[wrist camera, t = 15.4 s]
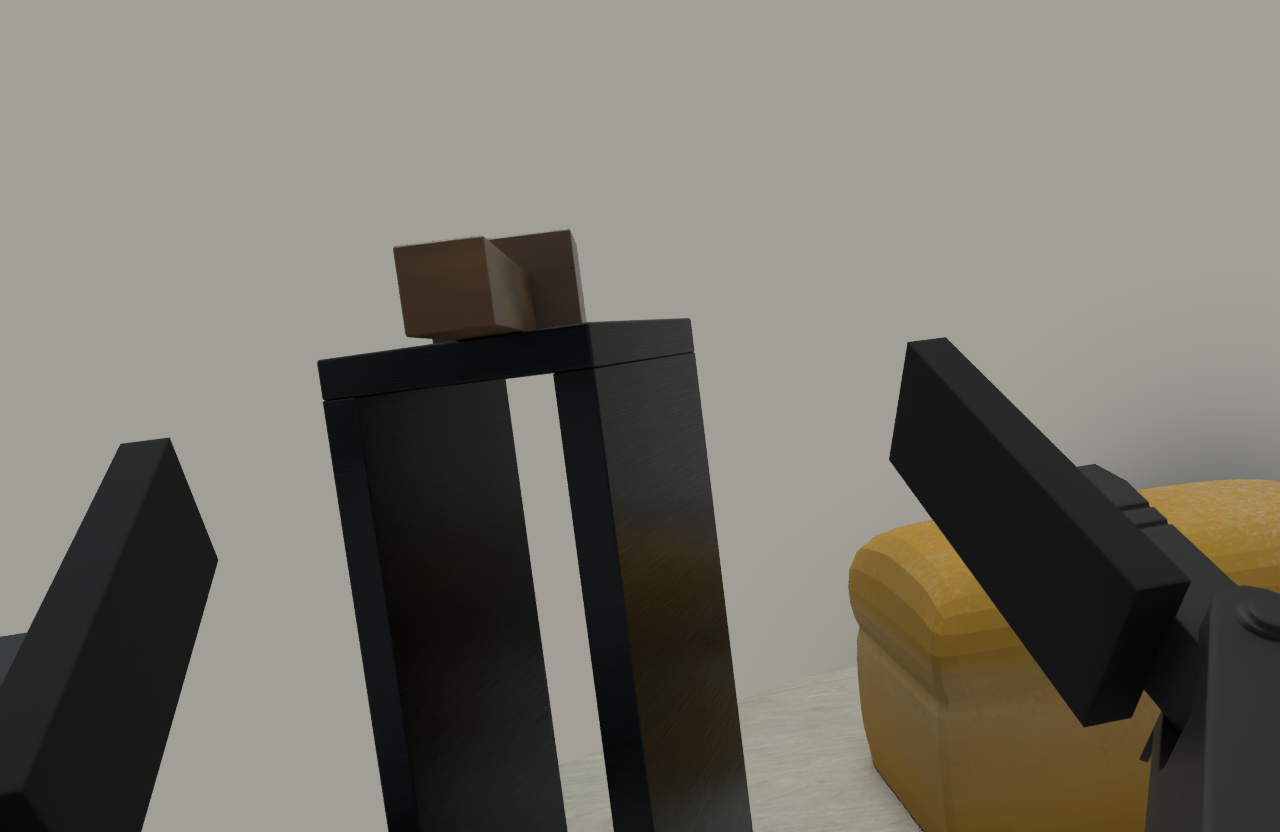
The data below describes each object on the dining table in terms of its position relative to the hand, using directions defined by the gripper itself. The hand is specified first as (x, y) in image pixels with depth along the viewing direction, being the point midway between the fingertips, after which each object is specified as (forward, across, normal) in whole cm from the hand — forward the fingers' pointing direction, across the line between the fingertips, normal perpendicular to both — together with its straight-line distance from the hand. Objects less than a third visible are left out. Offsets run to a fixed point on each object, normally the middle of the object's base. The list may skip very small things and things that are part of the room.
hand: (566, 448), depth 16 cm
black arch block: (+5, 0, -31) cm, 31 cm away
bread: (+10, +29, -34) cm, 46 cm away
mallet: (+15, -1, -6) cm, 17 cm away
